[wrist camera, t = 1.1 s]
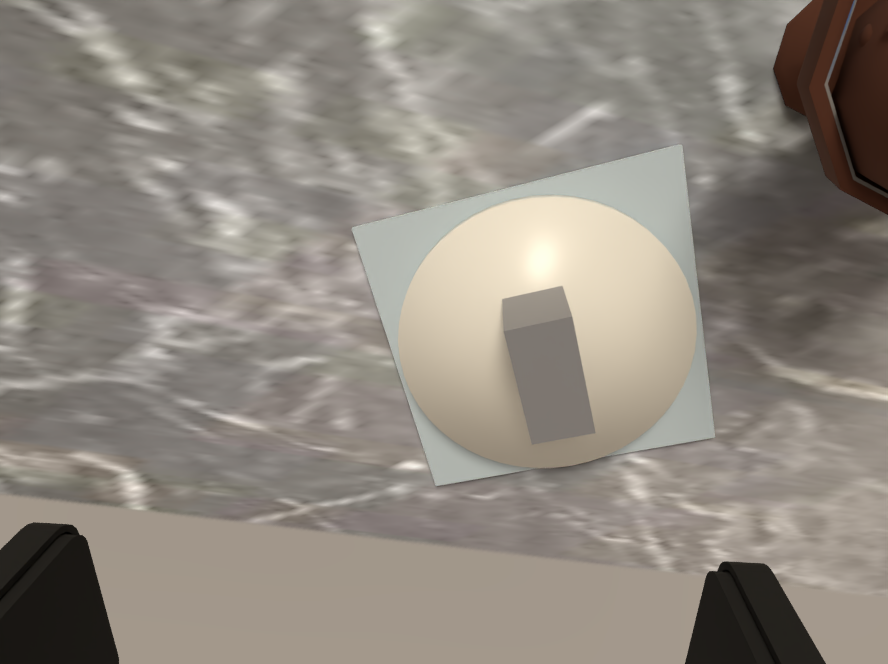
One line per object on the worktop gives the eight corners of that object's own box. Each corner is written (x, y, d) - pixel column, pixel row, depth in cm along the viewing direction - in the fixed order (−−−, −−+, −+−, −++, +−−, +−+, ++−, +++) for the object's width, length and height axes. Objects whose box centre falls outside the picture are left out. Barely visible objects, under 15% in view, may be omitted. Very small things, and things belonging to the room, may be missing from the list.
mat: (679, 144, 28) (682, 145, 28) (712, 433, 34) (715, 437, 34) (353, 226, 31) (351, 228, 30) (436, 481, 37) (435, 486, 36)
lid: (672, 158, 28) (707, 177, 23) (705, 431, 33) (738, 489, 29) (364, 236, 30) (341, 266, 26) (442, 477, 36) (434, 537, 31)
